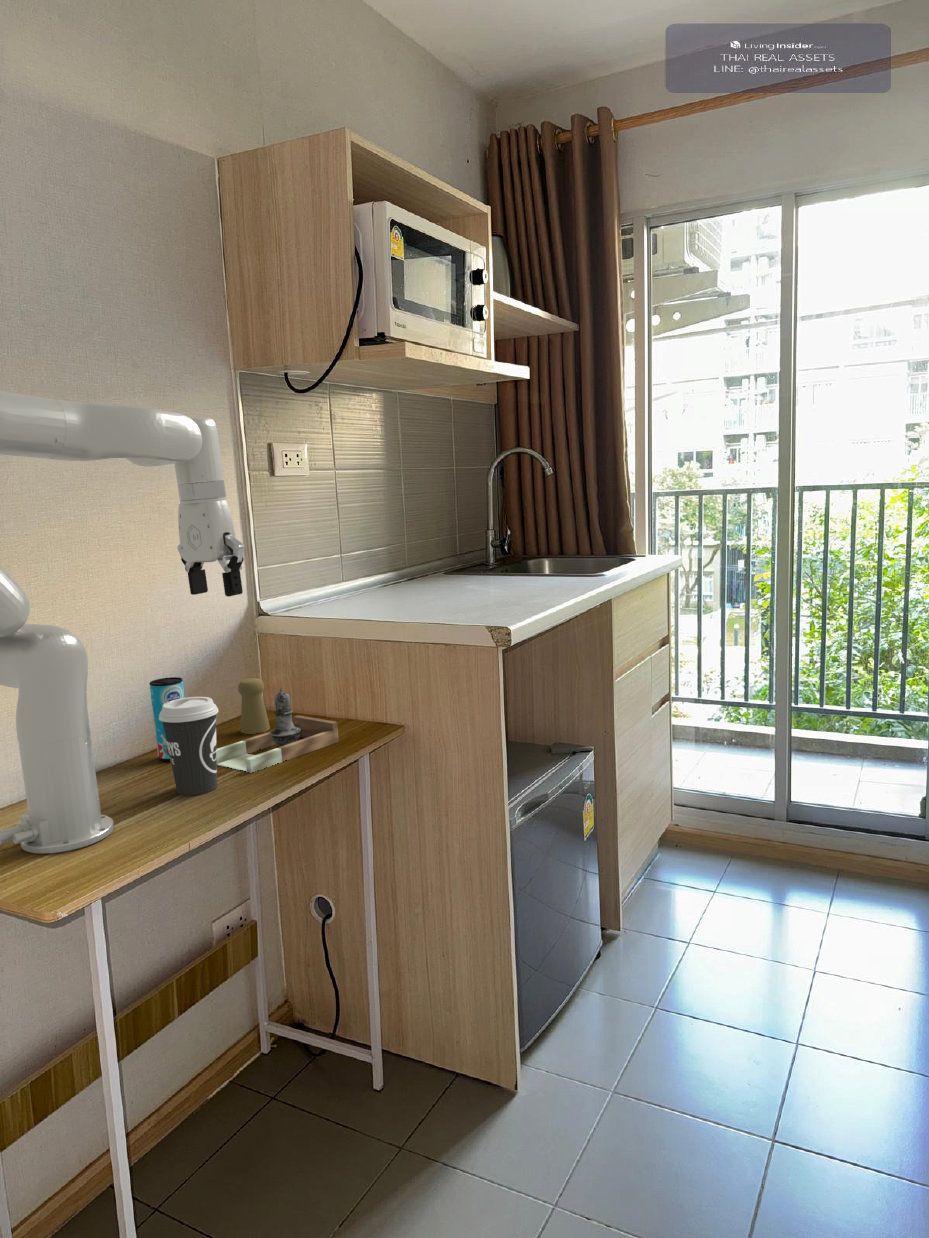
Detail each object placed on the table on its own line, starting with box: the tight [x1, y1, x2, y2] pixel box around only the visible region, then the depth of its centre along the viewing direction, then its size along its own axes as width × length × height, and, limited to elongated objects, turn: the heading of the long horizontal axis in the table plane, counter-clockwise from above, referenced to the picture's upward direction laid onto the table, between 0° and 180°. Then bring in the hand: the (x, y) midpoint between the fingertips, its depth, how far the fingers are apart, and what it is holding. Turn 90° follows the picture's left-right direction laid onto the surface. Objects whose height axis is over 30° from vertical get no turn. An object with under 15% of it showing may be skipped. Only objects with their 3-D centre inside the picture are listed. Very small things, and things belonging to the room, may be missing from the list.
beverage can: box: [149, 676, 186, 762], centre depth 166 cm, size 6×6×15 cm
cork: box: [237, 677, 271, 735], centre depth 182 cm, size 6×6×11 cm
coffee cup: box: [159, 696, 220, 797], centre depth 146 cm, size 10×10×15 cm
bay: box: [216, 714, 340, 774], centre depth 166 cm, size 21×11×4 cm, turn 142°
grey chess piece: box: [269, 687, 301, 749], centre depth 167 cm, size 6×6×12 cm
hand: (216, 594), depth 149 cm, fingers open, 9 cm apart
